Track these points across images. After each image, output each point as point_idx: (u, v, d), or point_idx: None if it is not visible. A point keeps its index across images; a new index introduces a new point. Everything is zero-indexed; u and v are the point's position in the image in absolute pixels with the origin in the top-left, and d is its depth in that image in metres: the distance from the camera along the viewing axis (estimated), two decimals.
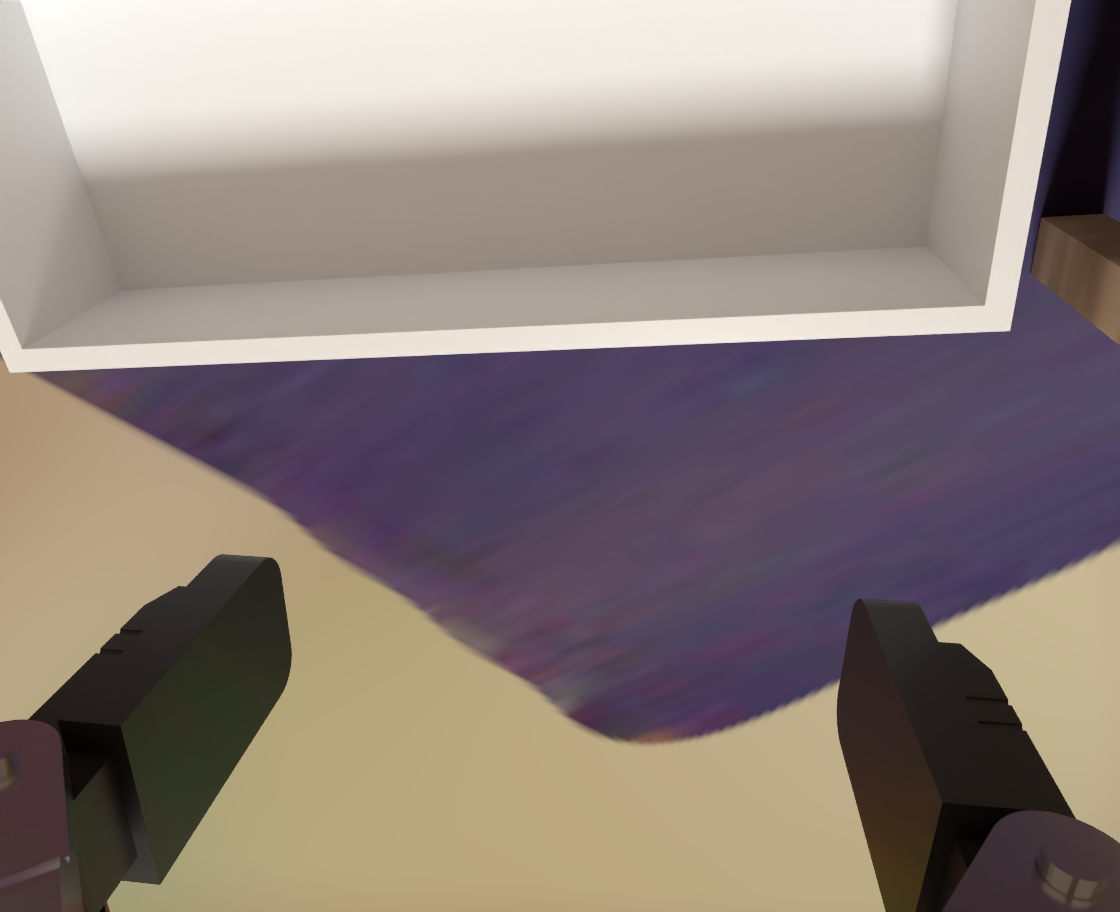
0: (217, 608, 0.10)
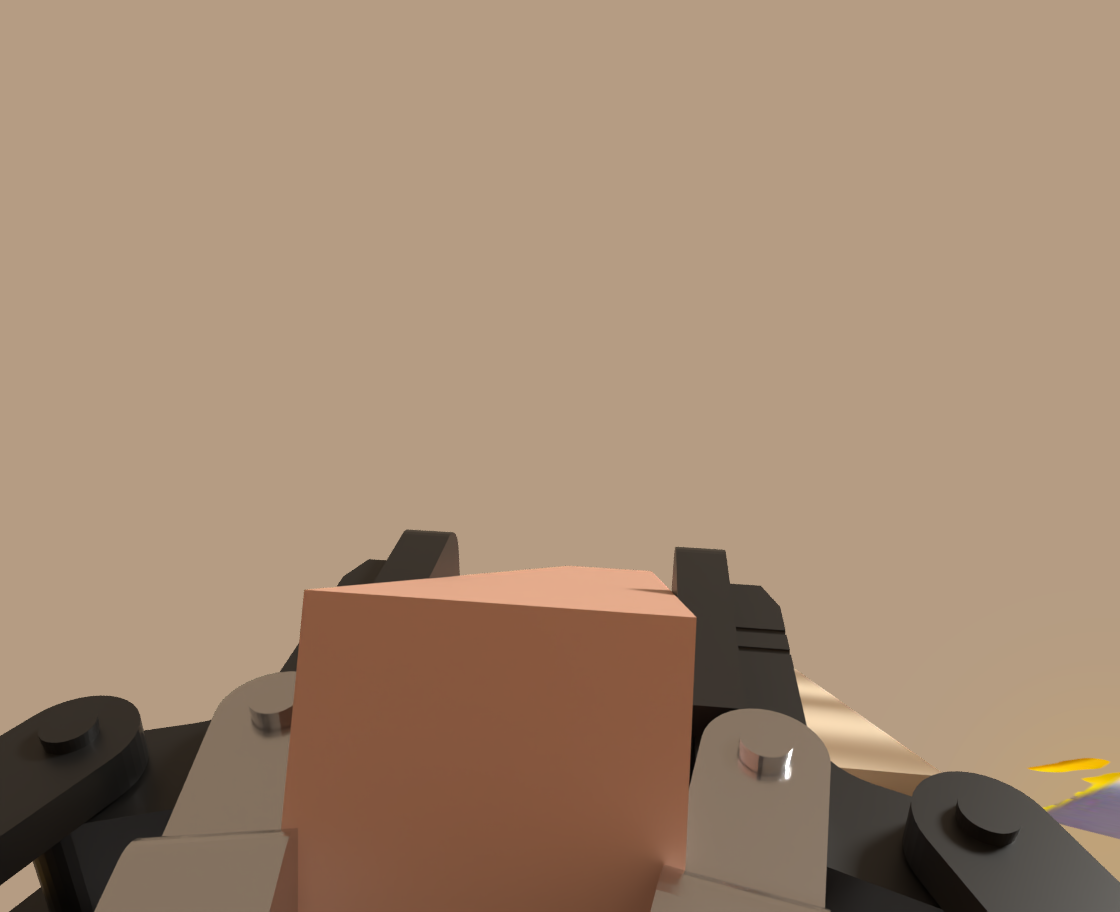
0: (424, 577, 0.11)
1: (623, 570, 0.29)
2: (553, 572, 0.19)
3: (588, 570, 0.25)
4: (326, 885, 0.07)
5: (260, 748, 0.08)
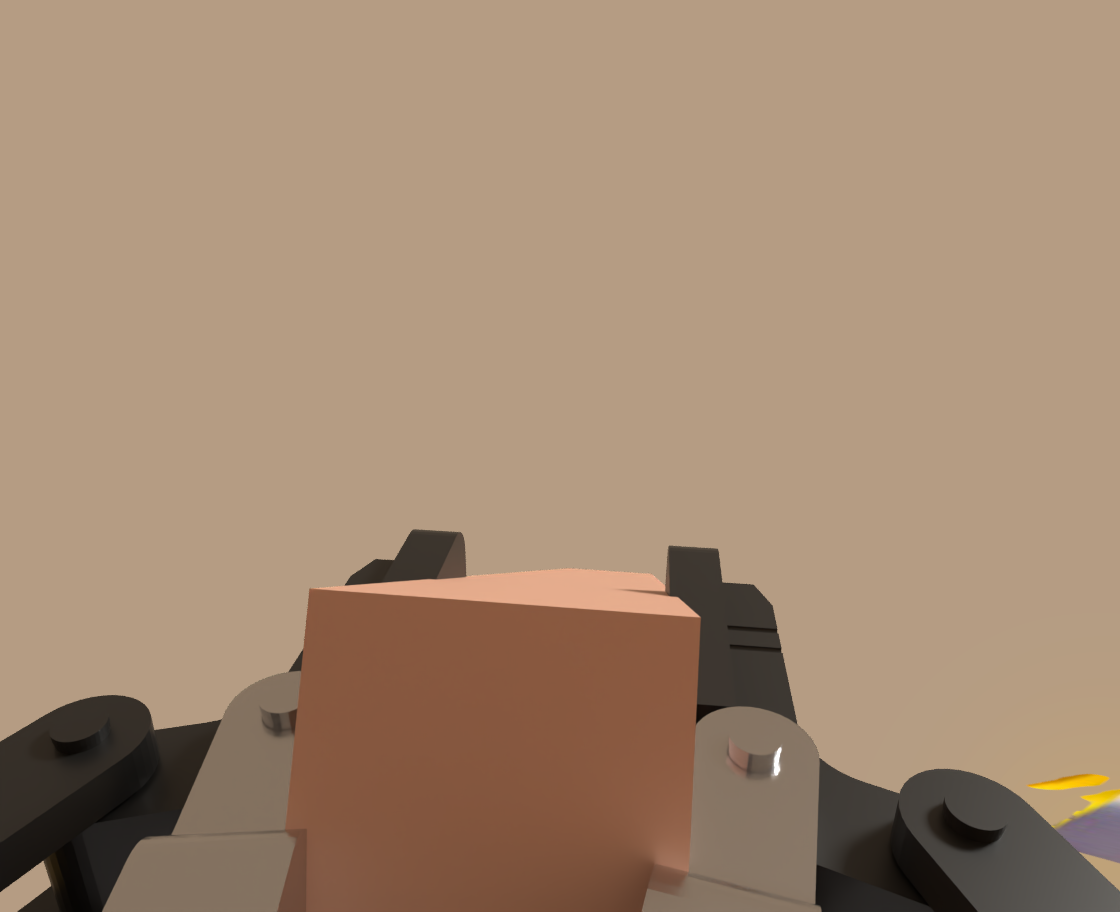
0: (432, 577, 0.11)
1: None
2: (554, 574, 0.19)
3: None
4: (330, 883, 0.07)
5: (271, 747, 0.08)
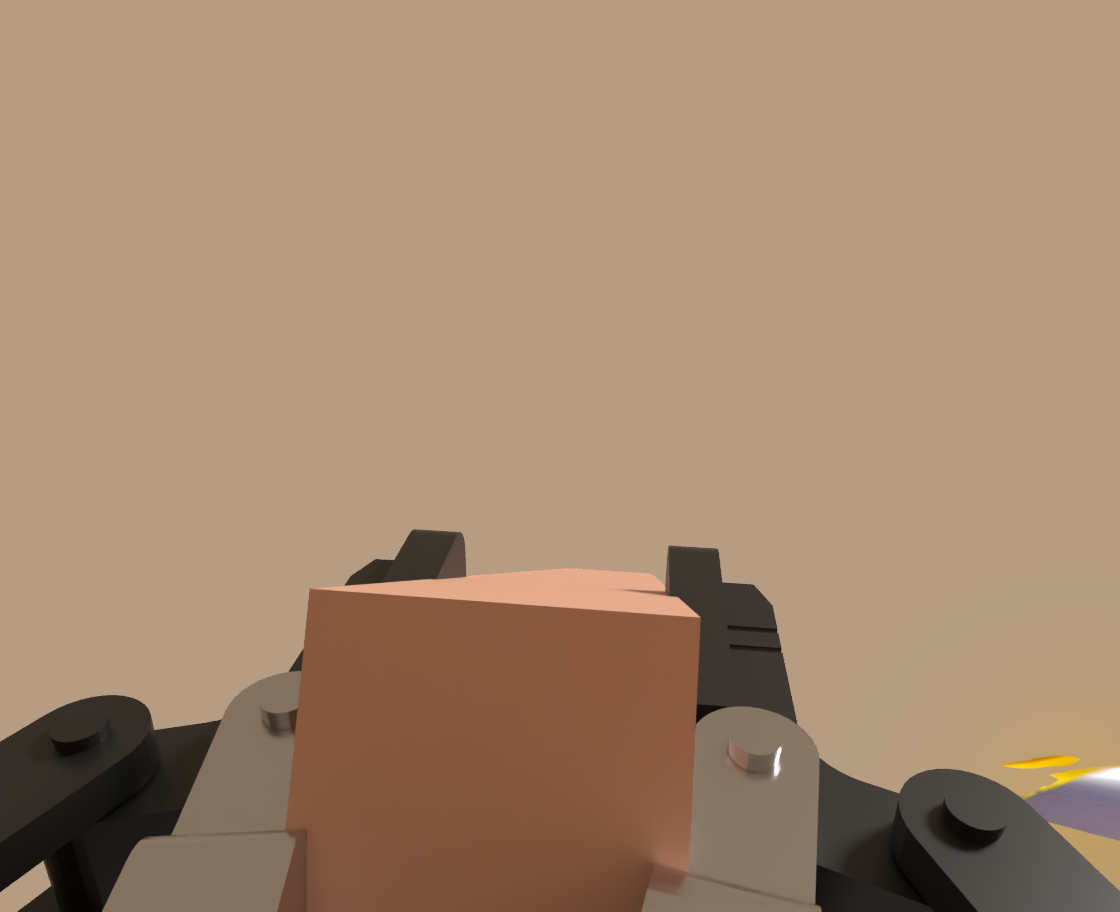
0: (432, 577, 0.11)
1: None
2: (554, 574, 0.19)
3: (588, 572, 0.25)
4: (330, 883, 0.07)
5: (271, 747, 0.08)
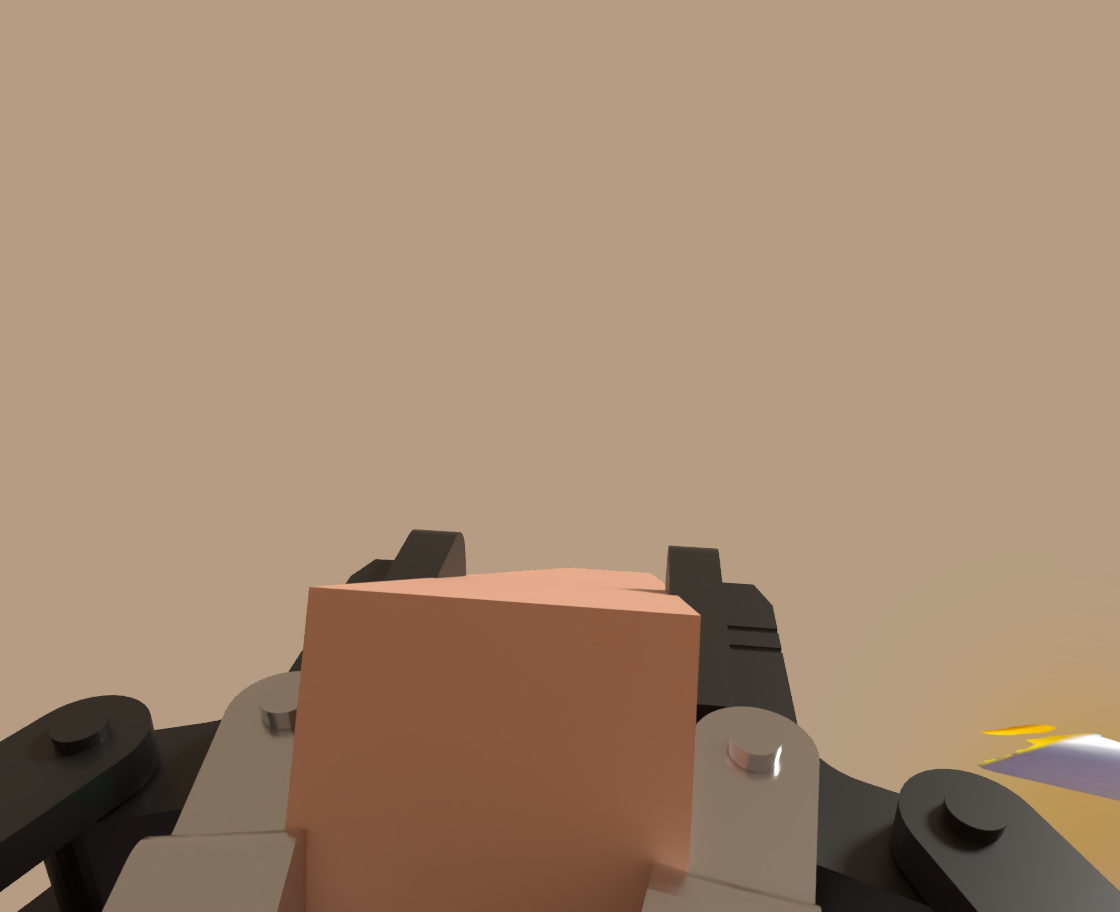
0: (432, 577, 0.11)
1: (623, 572, 0.29)
2: (554, 573, 0.19)
3: None
4: (330, 882, 0.07)
5: (271, 747, 0.08)
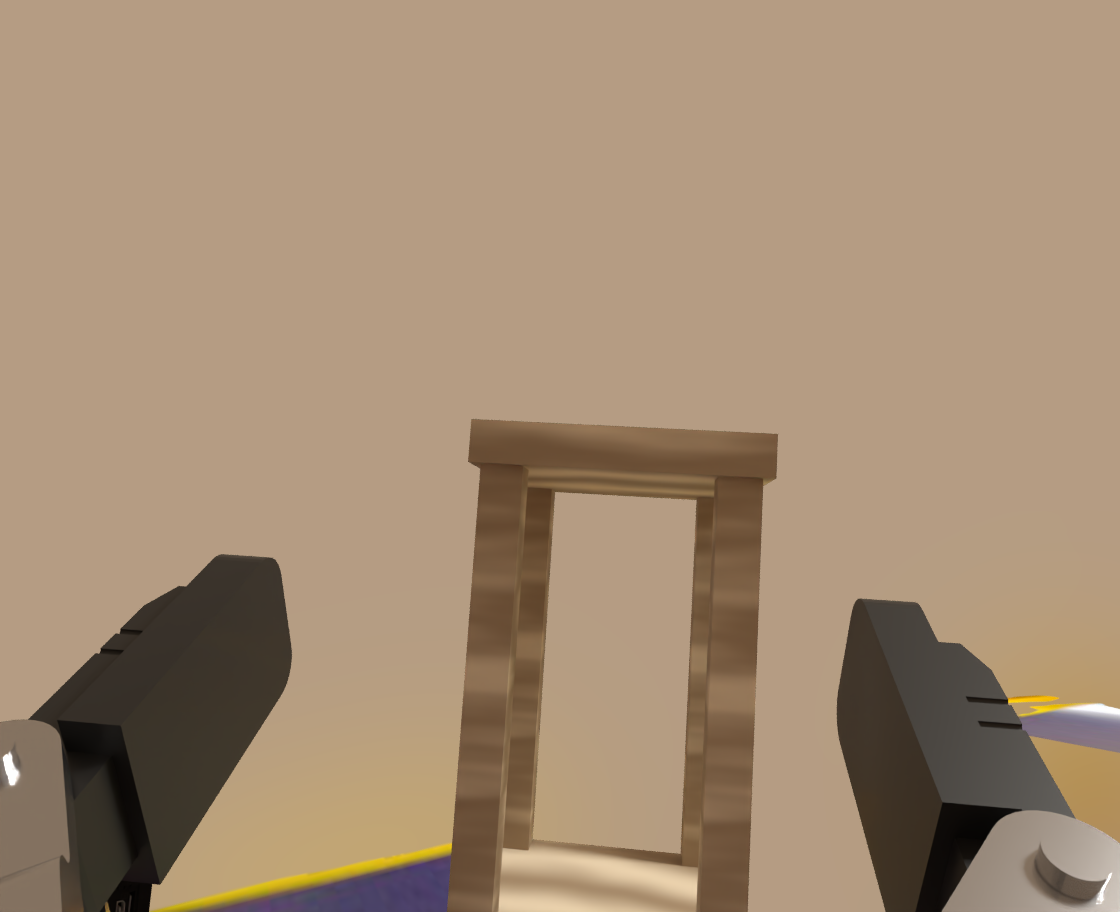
0: (217, 608, 0.10)
1: None
2: None
3: None
4: None
5: None
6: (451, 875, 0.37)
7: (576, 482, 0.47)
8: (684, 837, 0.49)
